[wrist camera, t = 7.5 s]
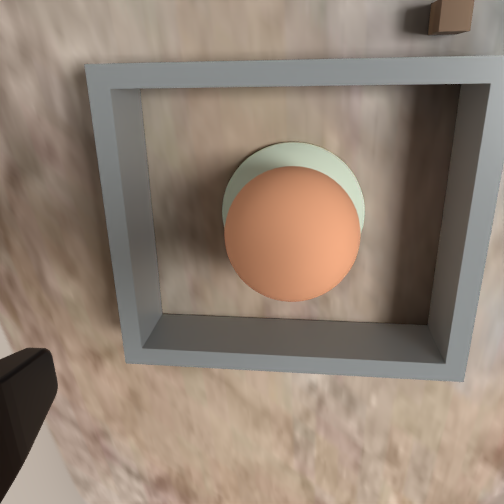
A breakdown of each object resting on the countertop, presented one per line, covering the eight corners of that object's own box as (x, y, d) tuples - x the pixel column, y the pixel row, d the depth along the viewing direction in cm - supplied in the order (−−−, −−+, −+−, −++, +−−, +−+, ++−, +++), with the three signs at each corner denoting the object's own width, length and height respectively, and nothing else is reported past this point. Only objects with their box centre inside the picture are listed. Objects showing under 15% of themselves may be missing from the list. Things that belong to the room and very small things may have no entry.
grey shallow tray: (487, 57, 17) (523, 54, 14) (443, 341, 21) (463, 382, 18) (118, 65, 18) (84, 63, 16) (148, 327, 23) (125, 363, 20)
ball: (356, 154, 18) (375, 183, 14) (348, 270, 20) (363, 330, 15) (231, 155, 19) (209, 182, 14) (235, 267, 21) (217, 325, 16)
